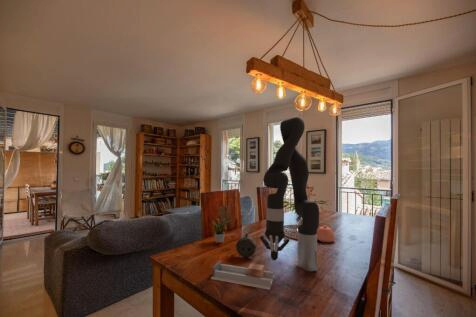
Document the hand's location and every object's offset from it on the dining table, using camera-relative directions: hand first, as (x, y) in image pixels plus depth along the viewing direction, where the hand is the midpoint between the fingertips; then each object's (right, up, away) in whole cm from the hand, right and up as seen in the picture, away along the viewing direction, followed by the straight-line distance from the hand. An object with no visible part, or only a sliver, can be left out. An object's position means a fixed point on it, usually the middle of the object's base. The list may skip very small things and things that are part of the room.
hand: (274, 259), depth 93 cm
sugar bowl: (+44, -14, +58) cm, 74 cm away
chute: (-13, -11, +4) cm, 17 cm away
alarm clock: (-11, -12, +26) cm, 31 cm away
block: (-8, -10, +2) cm, 12 cm away
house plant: (-27, -13, +53) cm, 60 cm away
